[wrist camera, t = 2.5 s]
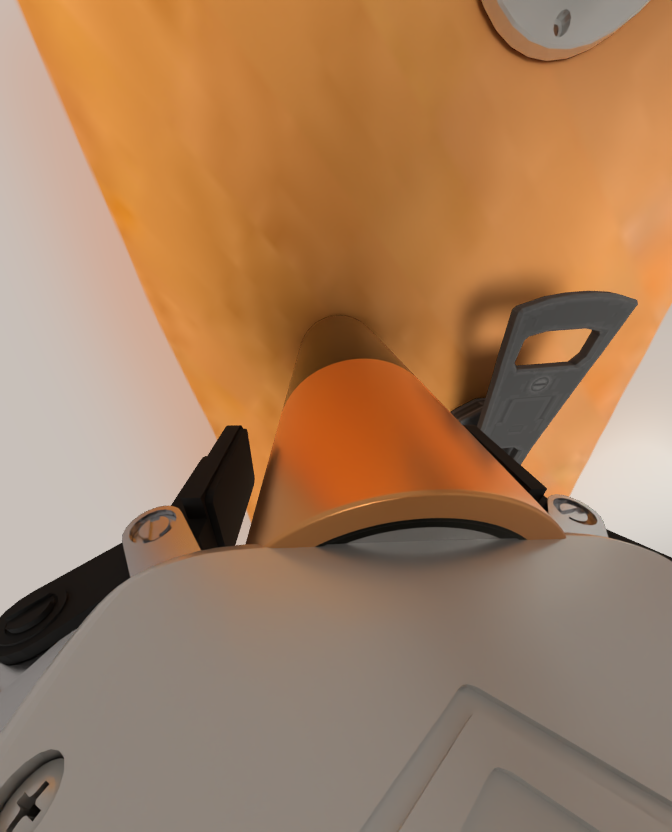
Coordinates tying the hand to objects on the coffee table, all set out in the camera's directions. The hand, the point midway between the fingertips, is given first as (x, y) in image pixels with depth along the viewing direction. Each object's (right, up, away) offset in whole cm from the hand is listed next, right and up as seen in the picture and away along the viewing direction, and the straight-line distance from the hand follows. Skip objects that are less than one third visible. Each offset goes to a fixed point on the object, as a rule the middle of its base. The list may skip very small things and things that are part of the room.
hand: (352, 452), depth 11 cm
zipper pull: (+15, +2, +16) cm, 22 cm away
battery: (0, +7, +12) cm, 14 cm away
